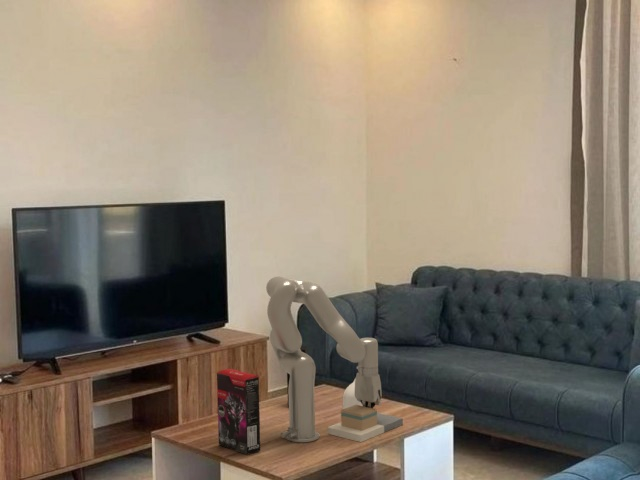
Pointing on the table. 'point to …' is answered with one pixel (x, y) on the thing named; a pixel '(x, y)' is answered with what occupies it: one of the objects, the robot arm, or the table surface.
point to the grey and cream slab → (382, 426)
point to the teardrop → (350, 396)
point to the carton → (359, 417)
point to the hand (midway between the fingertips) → (368, 417)
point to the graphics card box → (238, 411)
